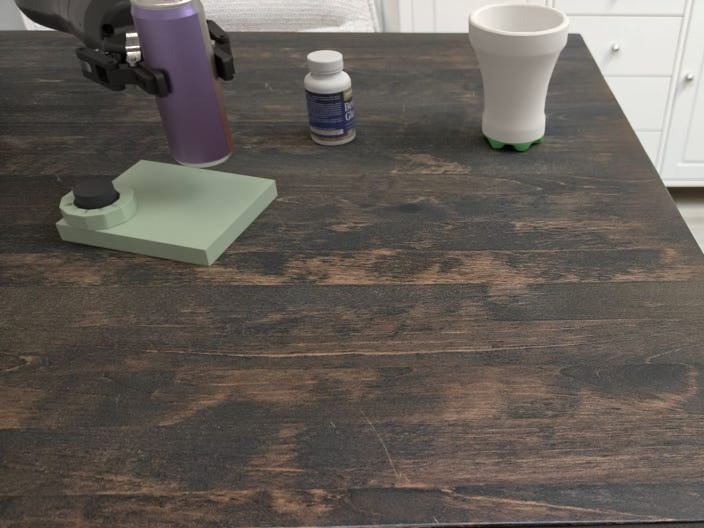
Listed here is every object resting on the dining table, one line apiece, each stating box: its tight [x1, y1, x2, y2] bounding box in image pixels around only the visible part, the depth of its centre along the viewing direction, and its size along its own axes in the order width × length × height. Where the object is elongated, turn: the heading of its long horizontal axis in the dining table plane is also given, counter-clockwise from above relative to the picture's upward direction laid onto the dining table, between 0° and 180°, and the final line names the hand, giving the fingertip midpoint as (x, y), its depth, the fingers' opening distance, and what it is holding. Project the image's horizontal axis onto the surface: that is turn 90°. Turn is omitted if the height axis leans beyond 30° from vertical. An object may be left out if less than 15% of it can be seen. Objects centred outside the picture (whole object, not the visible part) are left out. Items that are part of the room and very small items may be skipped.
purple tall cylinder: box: [130, 0, 235, 169], centre depth 69 cm, size 6×6×15 cm
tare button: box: [72, 178, 118, 210], centre depth 71 cm, size 4×4×2 cm
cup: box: [467, 1, 570, 152], centre depth 86 cm, size 11×11×14 cm
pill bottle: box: [303, 49, 356, 147], centre depth 87 cm, size 5×5×10 cm
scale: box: [55, 159, 278, 267], centre depth 75 cm, size 16×14×4 cm
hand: (196, 77), depth 67 cm, fingers closed on purple tall cylinder, 5 cm apart
